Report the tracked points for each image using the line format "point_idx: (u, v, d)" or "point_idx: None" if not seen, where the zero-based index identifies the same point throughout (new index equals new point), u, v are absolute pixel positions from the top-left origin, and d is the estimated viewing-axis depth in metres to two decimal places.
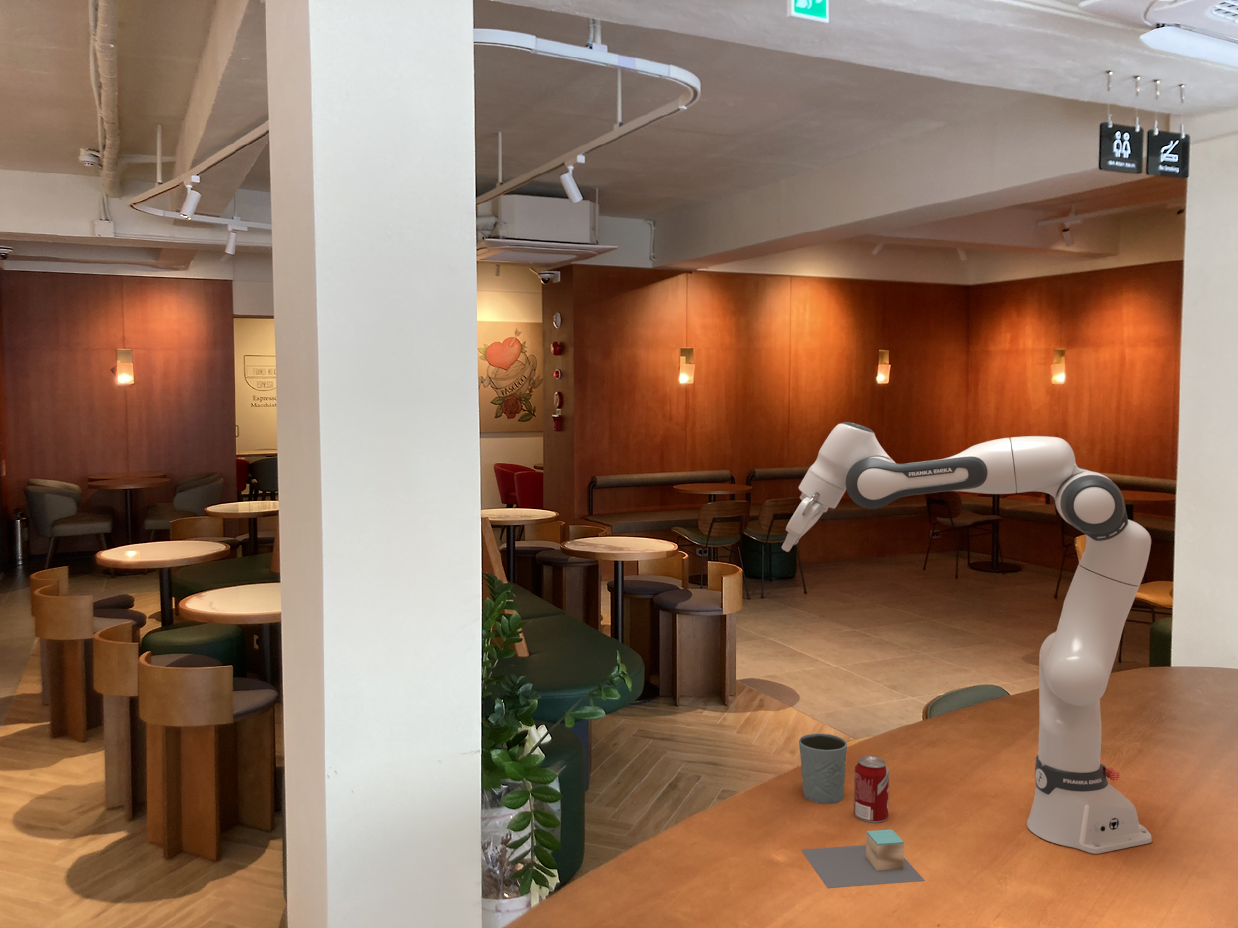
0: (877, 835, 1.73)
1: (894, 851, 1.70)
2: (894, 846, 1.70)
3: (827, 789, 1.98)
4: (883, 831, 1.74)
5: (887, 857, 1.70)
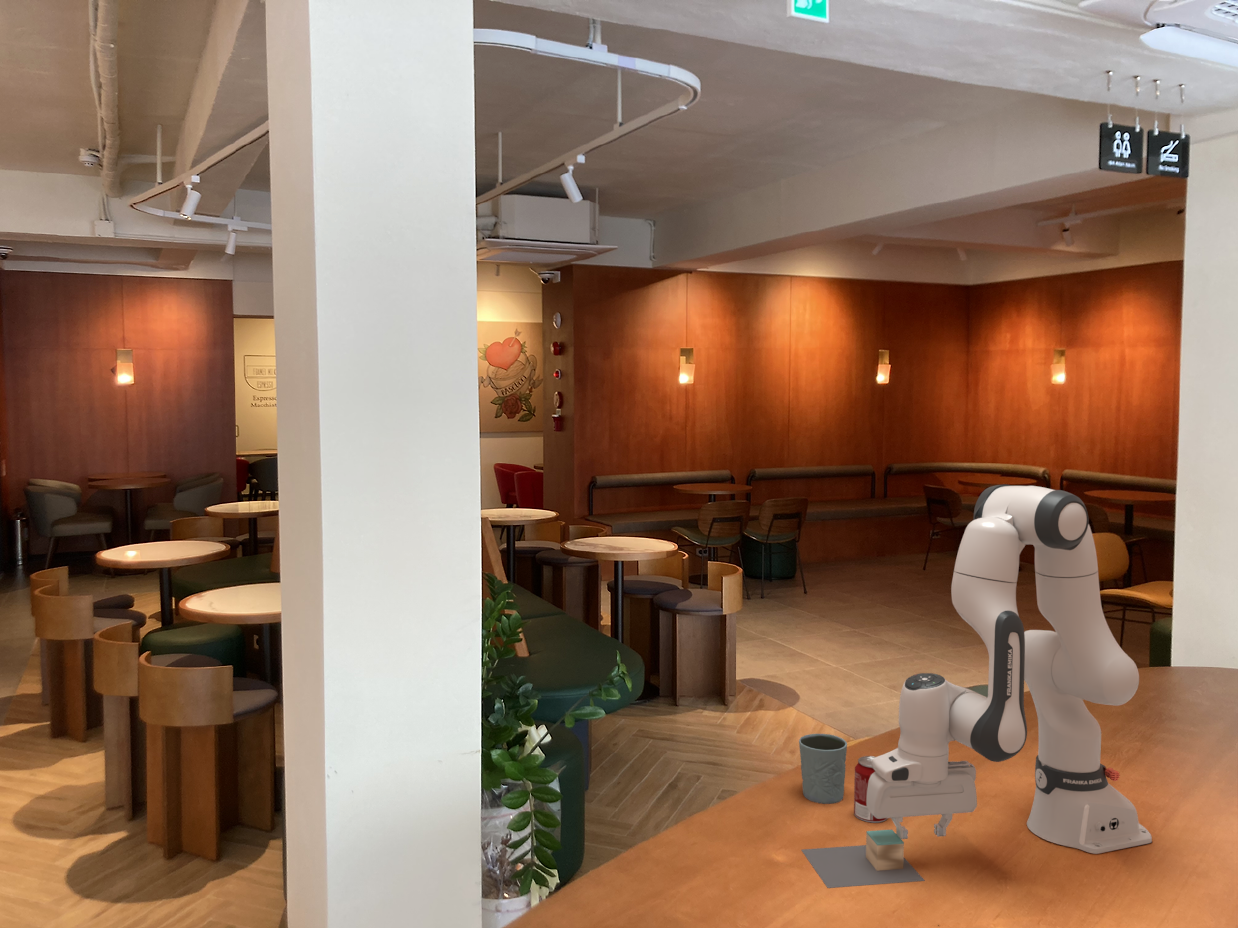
0: (877, 835, 1.73)
1: (894, 851, 1.70)
2: (894, 846, 1.70)
3: (827, 789, 1.98)
4: (883, 831, 1.74)
5: (887, 857, 1.70)
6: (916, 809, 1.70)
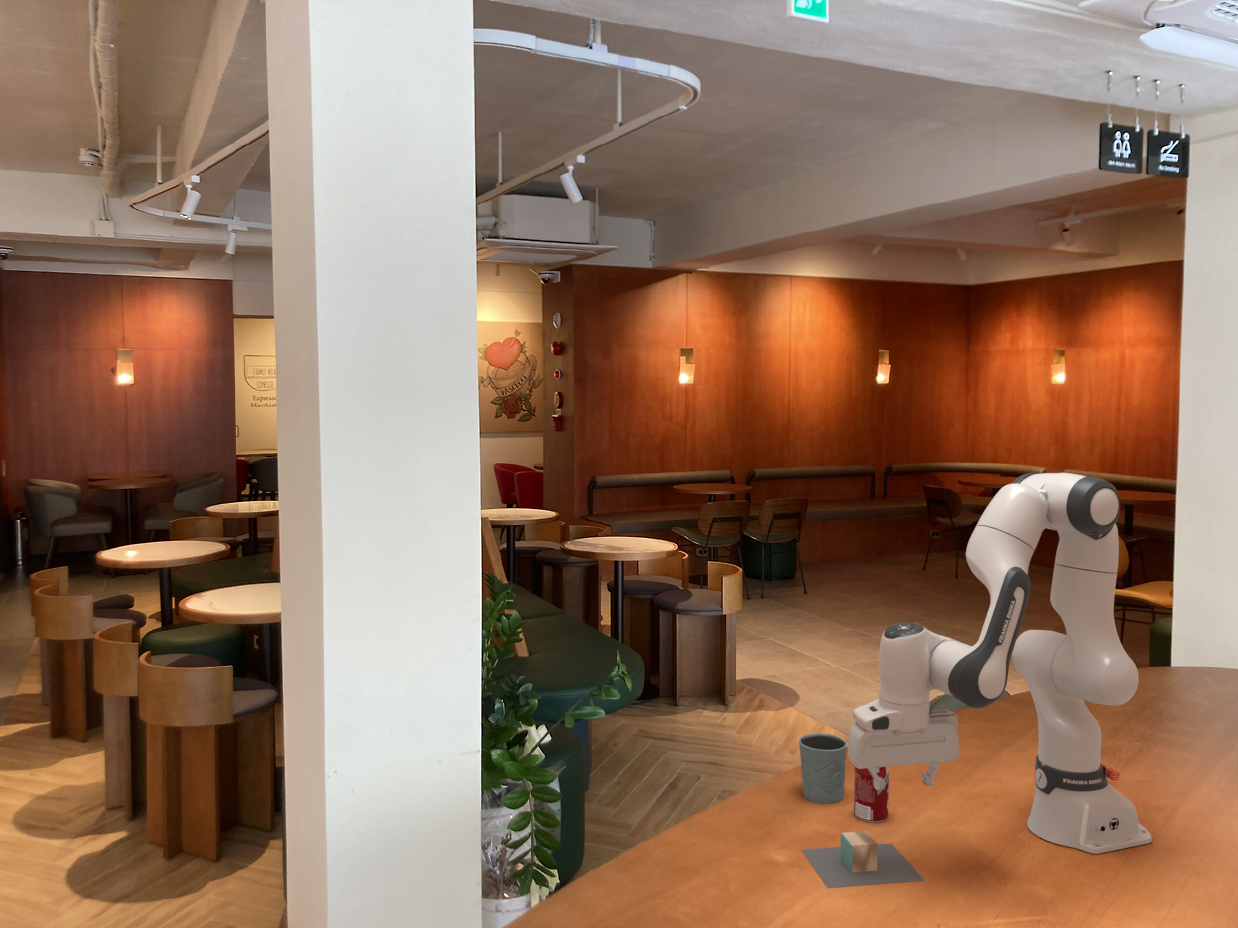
0: (844, 856, 1.72)
1: (859, 854, 1.69)
2: (855, 854, 1.69)
3: (827, 789, 1.98)
4: (841, 843, 1.73)
5: (865, 860, 1.69)
6: (898, 758, 1.69)
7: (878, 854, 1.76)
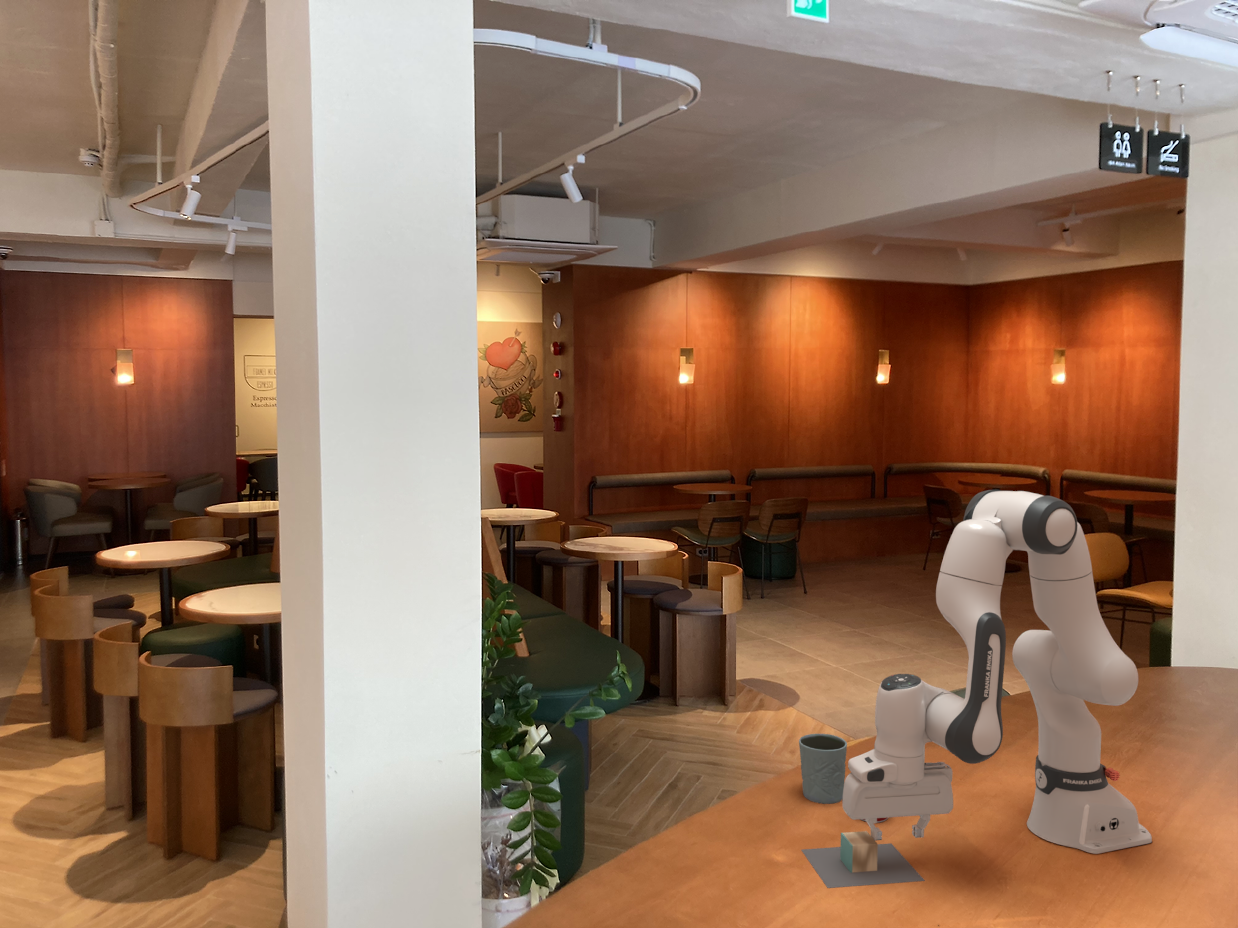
0: (844, 856, 1.72)
1: (859, 854, 1.69)
2: (855, 854, 1.69)
3: (827, 789, 1.98)
4: (841, 843, 1.73)
5: (865, 860, 1.69)
6: (892, 810, 1.70)
7: (878, 854, 1.76)
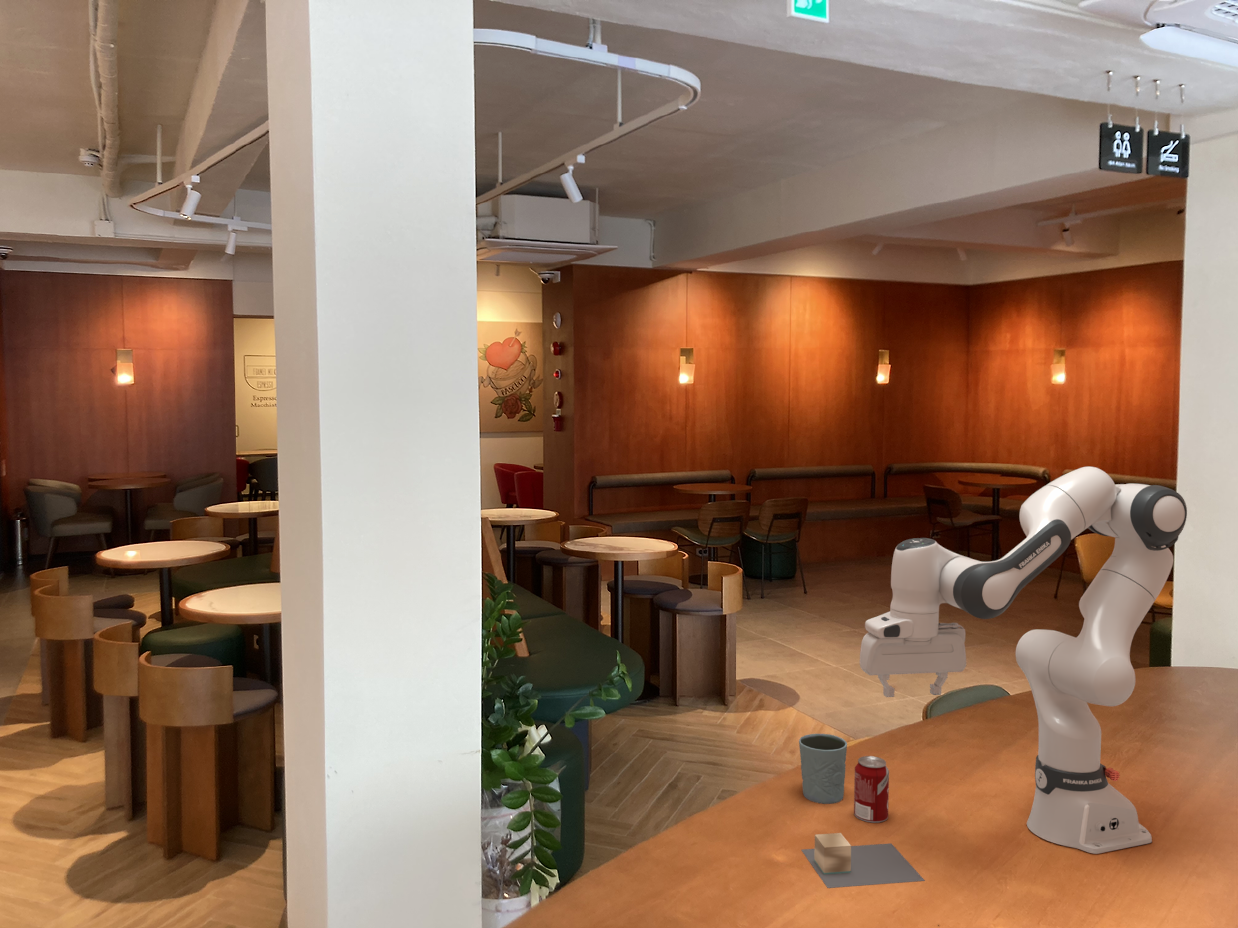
0: None
1: (833, 864, 1.68)
2: (833, 869, 1.68)
3: (827, 789, 1.98)
4: None
5: (840, 858, 1.68)
6: (907, 667, 1.77)
7: (878, 854, 1.76)
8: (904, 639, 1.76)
